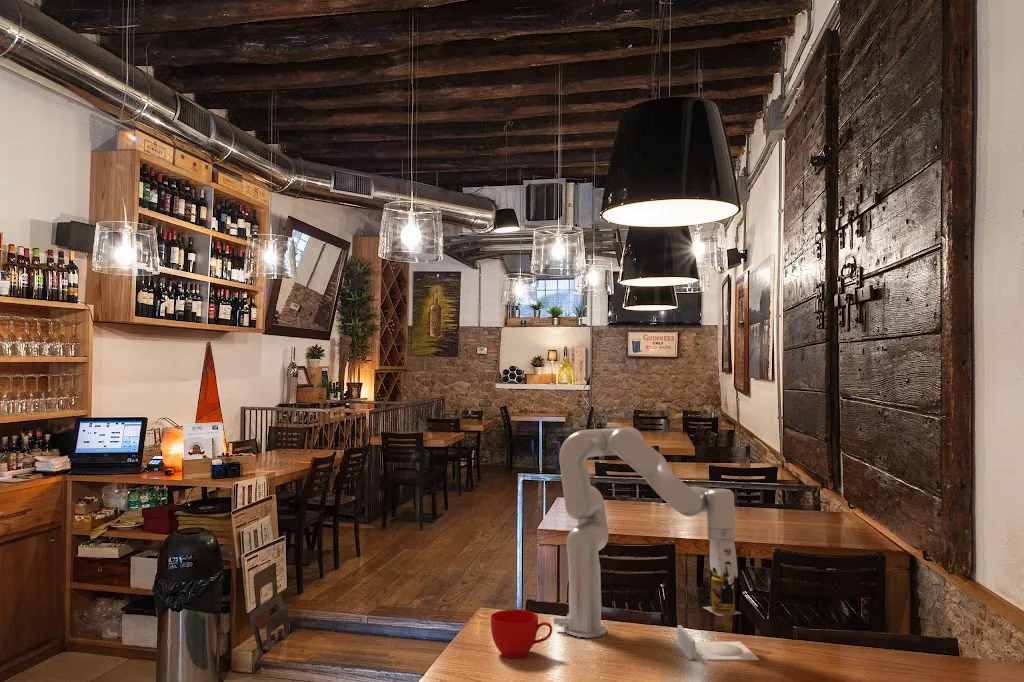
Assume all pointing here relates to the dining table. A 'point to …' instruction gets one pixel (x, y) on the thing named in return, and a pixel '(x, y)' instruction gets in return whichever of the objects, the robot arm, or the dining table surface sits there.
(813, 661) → the dining table surface
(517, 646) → the ceramic cup
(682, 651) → the low wall
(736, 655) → the pad
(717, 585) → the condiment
